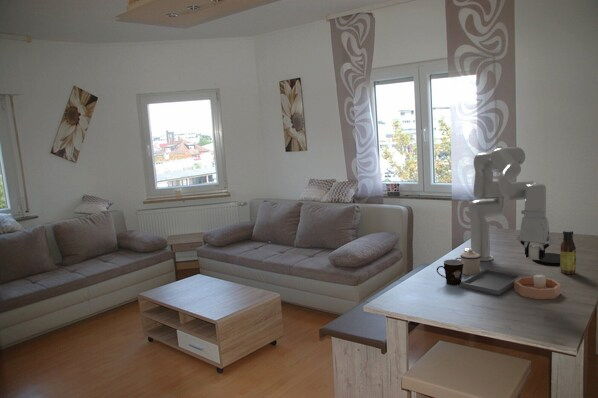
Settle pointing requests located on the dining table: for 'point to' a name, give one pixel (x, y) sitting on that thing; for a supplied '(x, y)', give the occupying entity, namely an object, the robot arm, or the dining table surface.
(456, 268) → the coffee mug
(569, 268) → the sauce bottle
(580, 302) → the dining table surface
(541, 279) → the pebble
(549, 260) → the wireless charger
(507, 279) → the parts tray
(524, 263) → the dining table surface
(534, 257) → the pebble
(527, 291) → the bowl
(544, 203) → the robot arm
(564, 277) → the dining table surface
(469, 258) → the teacup with lid
